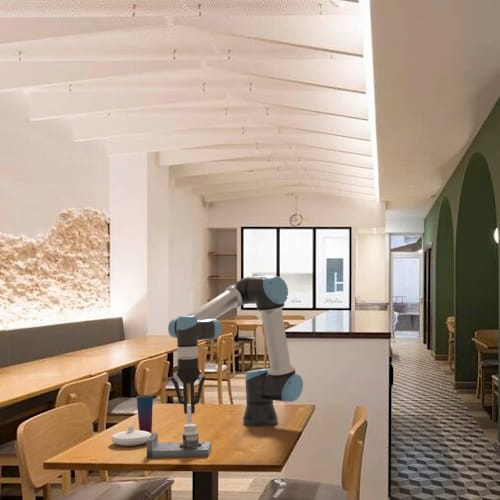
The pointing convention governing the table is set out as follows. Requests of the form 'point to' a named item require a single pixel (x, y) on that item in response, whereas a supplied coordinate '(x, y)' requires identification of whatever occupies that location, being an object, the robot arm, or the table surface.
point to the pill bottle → (190, 436)
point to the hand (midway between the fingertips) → (189, 422)
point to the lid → (130, 437)
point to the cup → (145, 412)
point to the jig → (175, 449)
